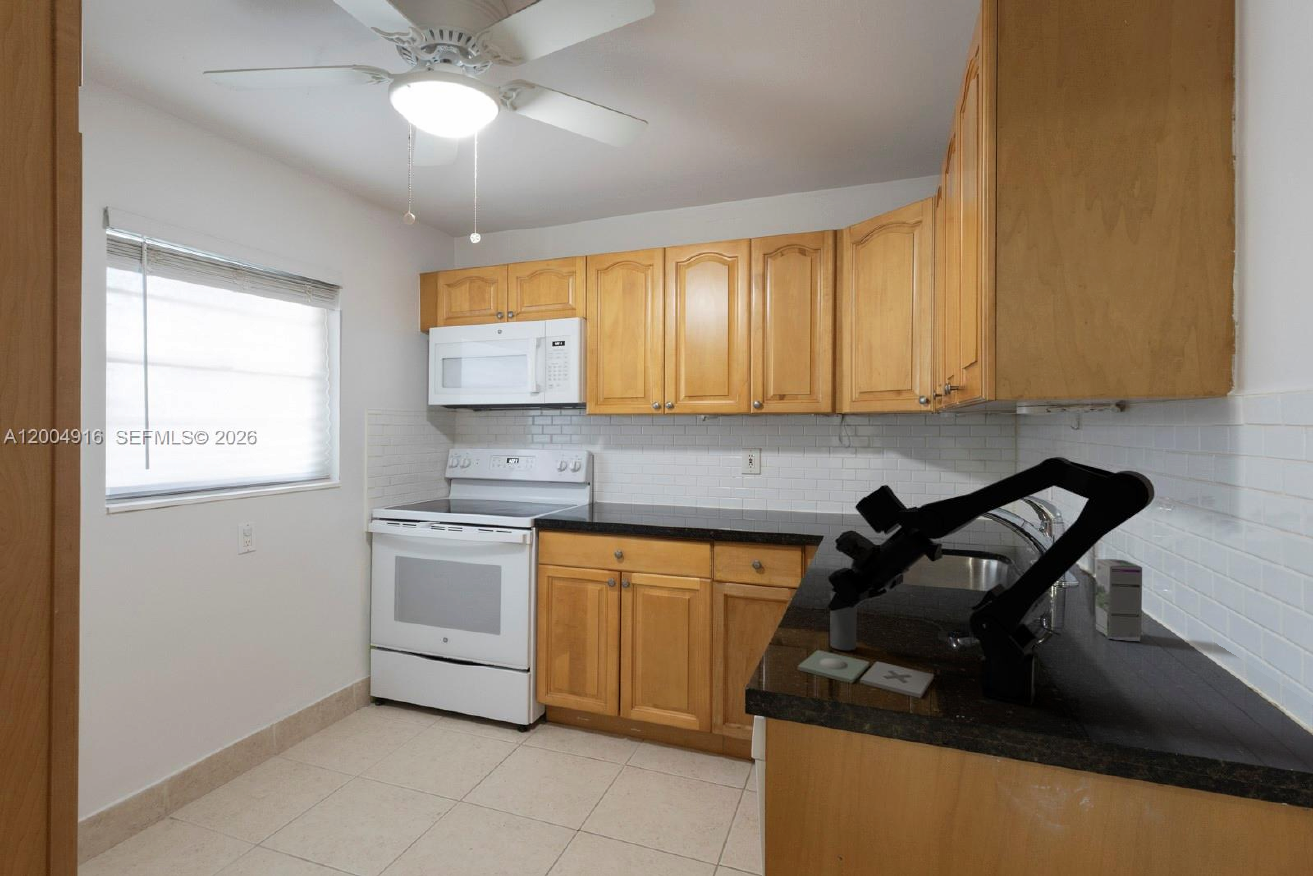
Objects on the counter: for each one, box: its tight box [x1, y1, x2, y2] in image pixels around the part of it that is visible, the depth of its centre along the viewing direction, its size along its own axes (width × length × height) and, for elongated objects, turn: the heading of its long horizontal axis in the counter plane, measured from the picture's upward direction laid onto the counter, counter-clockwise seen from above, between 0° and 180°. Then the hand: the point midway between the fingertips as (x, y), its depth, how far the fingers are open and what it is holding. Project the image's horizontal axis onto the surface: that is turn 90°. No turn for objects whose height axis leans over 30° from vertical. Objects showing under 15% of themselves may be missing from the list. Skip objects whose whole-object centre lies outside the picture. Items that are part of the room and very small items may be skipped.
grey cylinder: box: [829, 587, 858, 651], centre depth 114 cm, size 4×4×10 cm
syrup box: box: [1094, 558, 1143, 638], centre depth 122 cm, size 6×6×14 cm
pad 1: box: [797, 649, 870, 684], centre depth 105 cm, size 9×9×1 cm
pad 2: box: [859, 661, 935, 699], centre depth 100 cm, size 9×9×1 cm
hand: (836, 605), depth 115 cm, fingers closed on grey cylinder, 5 cm apart
